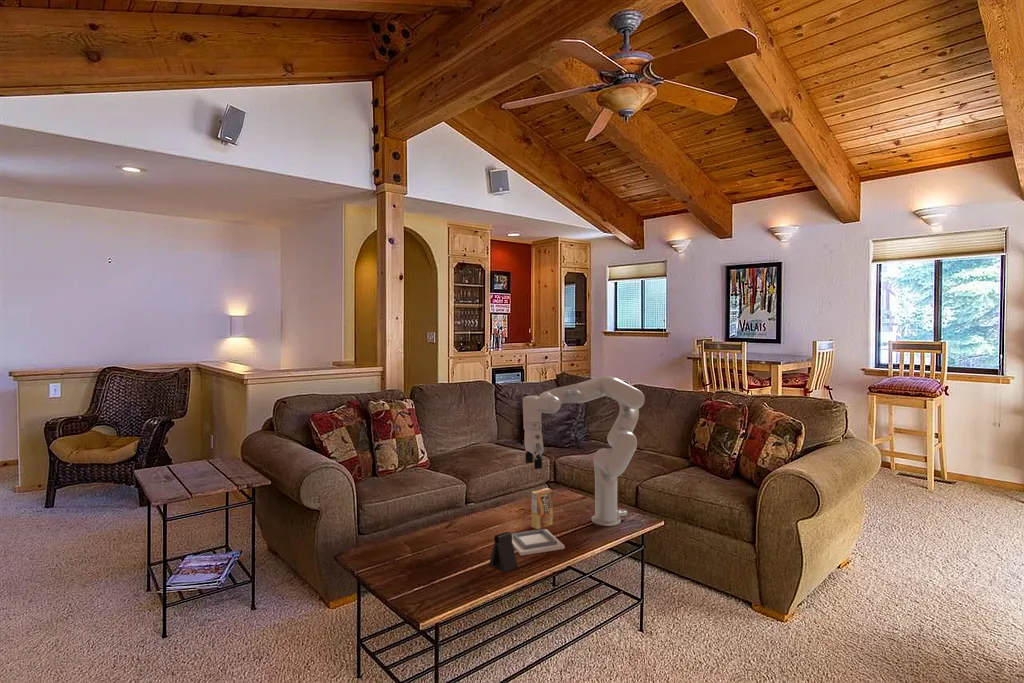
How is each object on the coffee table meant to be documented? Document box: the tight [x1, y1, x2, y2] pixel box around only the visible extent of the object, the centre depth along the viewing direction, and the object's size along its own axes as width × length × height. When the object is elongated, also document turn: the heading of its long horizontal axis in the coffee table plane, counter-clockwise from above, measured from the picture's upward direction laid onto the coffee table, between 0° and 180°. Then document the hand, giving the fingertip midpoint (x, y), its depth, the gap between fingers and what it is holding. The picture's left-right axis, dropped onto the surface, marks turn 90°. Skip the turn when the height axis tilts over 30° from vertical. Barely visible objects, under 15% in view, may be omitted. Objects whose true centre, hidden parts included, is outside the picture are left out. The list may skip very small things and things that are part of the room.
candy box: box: [531, 487, 554, 530], centre depth 250 cm, size 9×4×15 cm, turn 129°
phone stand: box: [488, 531, 519, 573], centre depth 212 cm, size 9×6×12 cm, turn 40°
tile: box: [511, 528, 566, 557], centre depth 232 cm, size 18×18×2 cm
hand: (533, 465), depth 246 cm, fingers open, 9 cm apart
